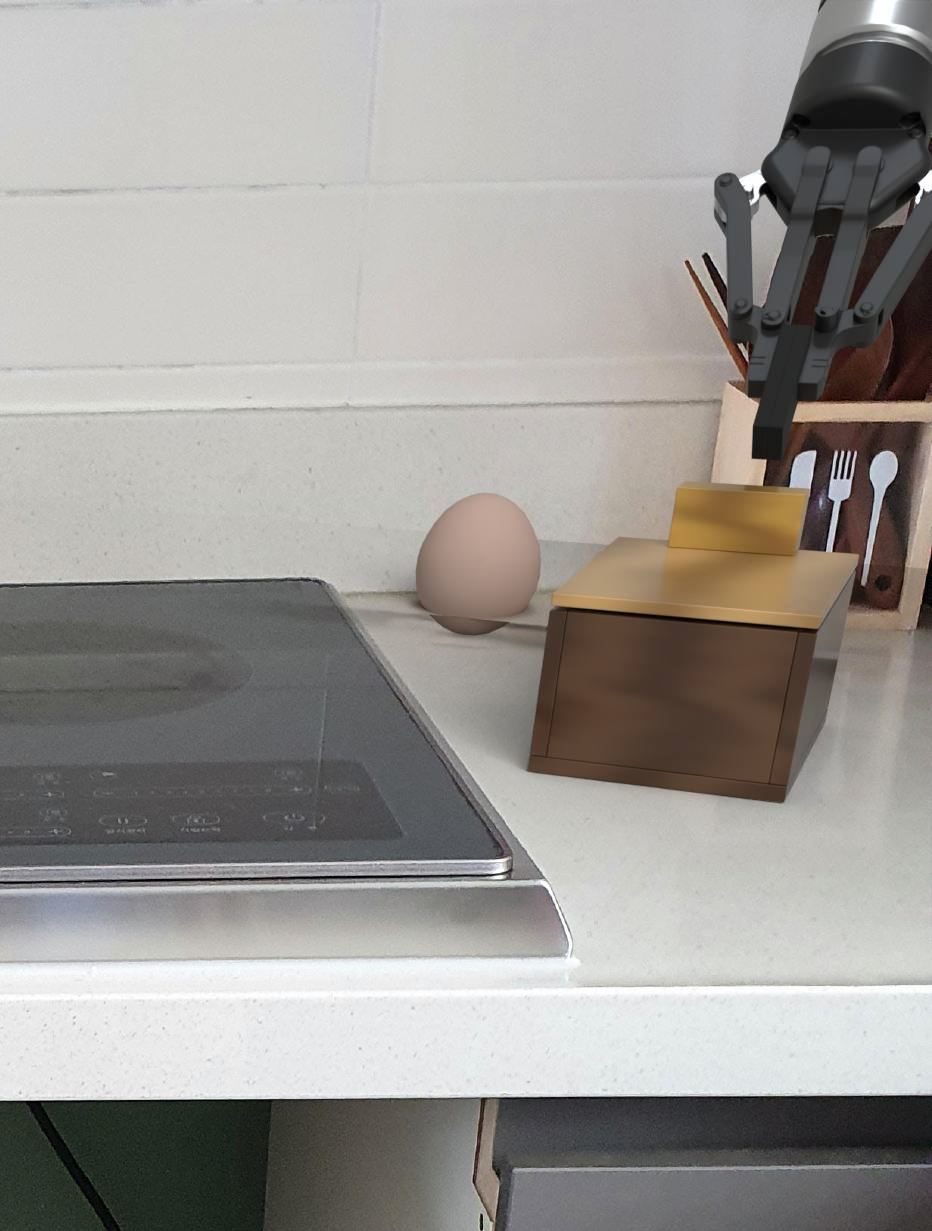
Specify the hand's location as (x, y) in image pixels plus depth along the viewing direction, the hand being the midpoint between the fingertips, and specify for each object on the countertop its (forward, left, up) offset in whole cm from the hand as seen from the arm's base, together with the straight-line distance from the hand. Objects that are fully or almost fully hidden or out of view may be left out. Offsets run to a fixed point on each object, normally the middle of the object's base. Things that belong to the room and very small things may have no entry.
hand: (767, 443), depth 111 cm
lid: (0, +14, -5) cm, 15 cm away
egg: (+15, -6, -13) cm, 21 cm away
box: (0, +14, -13) cm, 19 cm away
